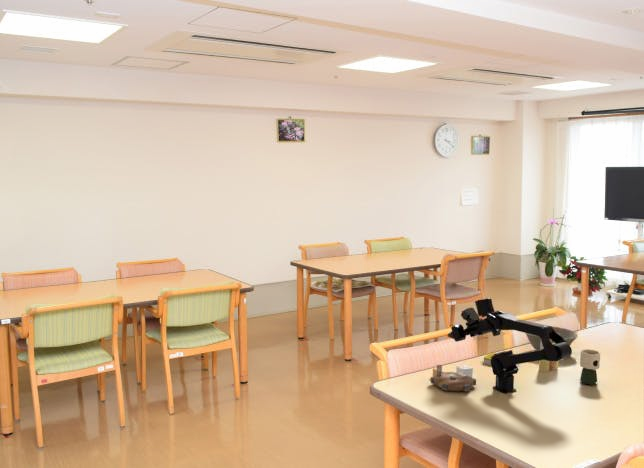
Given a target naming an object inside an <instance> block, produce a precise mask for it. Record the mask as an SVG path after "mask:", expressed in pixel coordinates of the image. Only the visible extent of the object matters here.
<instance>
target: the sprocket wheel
mask: <svg viewBox="0 0 644 468" xmlns="http://www.w3.org/2000/svg"><path fill="white" fill-rule="evenodd" d="M436 368H437V373H436V375H435V376H434V377H433V376H430V384H433V385H435V386H436V387H438V388H441V390H443V391H455V392H456V391H458V392H459V391H460V392H461V391H462V392H468V391H469V392H470V390H471V389H472V388H473V386H477V379H476V378H473V377H470V376H468V375H465V374H464V373H461V372H459V373H456V372H454V371H453V372H452V371H443V365H441V364H436Z"/></svg>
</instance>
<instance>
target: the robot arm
mask: <svg viewBox="0 0 644 468" xmlns="http://www.w3.org/2000/svg"><path fill="white" fill-rule="evenodd" d="M474 304H475V307H476V308H474V307H471V306H470V307H467V308H465V309H464V310H461V313H460V317H461V318H462V320H464V321H466V322H465V326H466V328H464V326H463V325H462V324H456V325H453V326H451V327H450V329H451V331H450V332H449V333H448V334H447V337H448V338H450V339H453V340H454V341H455V342H461V341H465V340H466V338H467V336H469V337H470V338H473V337H477V336H481V335H486V334H489V333H492V336H493V337H497V336H500V335H501V332H502V331H517V332H520V333H524V334H526V333H528V334H532V335H537V336H539V337H540V338H541V341H542V345H543V348H544V349H541V350H531V351H526V352H520V353H513V349H509V350H503V351H500V352H496V354H494V355H495V356H492V357H491V365H490V366H491V369H492V374H493V376H495V385H493V386H492V388H493V389H495V390H497V391H499V392H500V393H503V394H507V393H512V392H517V389H516V388H514V386H515V385H514V383H515V374H518V373H519V372H518V371H519V369H520V368H519V366H518V367H517V366H516V364H520V365H521V364H526V363H532V362H538V361H539V360H547V361H558V362H559V361H562V360H565V359H569V358H570V357H572V353H573V349H572V347H571V345H569V344H567V342H566V341H565V340H564V338H563V337H561V336H560V335H559V334H558V333H556V332H555V330H554V329H553V328H552V327H551V326H552V325H548V324H542V323H537V322H533V321H528V320H524V319H519V318H518V317H516V316H515V315H513V314H510V313H509V312H503V311H501V310H495V308H494V305H493V301H492V297H487V298H483V299H478V300H475V301H474ZM475 309H476V310H475ZM480 317H482V318H480ZM484 317H485V318H484ZM550 339H551V340H552V341H553V342H555V343H556V344H554V345H553V344H552V343H551V341H550Z"/></svg>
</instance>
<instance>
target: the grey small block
mask: <svg viewBox="0 0 644 468" xmlns="http://www.w3.org/2000/svg"><path fill="white" fill-rule="evenodd" d="M473 369H474V368H473V367H471V366H469V365H467V364H464V365H459V366H456V372H455V373H459V372H461V373H464V374H465V375H468V376H470V377H471V378H473V373H474V372H473Z"/></svg>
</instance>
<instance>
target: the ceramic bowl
mask: <svg viewBox="0 0 644 468" xmlns="http://www.w3.org/2000/svg"><path fill="white" fill-rule="evenodd" d="M550 326H551V327H552V328H553V329H554V330H555V332H556V333H559V334H560V336H561V337H563V338H564V340H565V341H566V342H567V344H569V345H570V346H571V345H572V343H574V341H575V340H576V339H577V338H578V333H577V332H575V331H573V330H571V329H567V328H564V327H558V326H553V325H550ZM525 334H526V337H527V340H528V342H529V343H530V346H532V347H533V349H535V350H540V342H541V338H540V337H539V336H537V335H532V334H528V333H525ZM535 350H534V351H535Z"/></svg>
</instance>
